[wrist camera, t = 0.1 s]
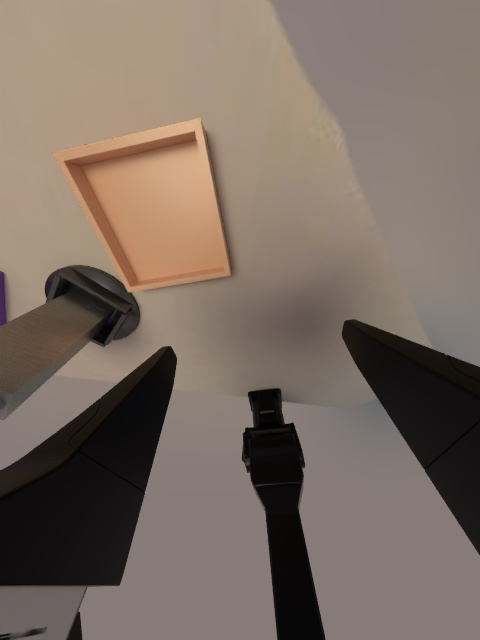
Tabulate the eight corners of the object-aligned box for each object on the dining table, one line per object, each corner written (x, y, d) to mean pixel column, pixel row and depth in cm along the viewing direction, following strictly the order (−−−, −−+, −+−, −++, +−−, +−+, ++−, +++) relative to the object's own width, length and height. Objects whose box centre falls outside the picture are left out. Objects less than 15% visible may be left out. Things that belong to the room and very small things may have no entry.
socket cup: (153, 302, 24) (145, 310, 22) (121, 348, 28) (112, 358, 26) (63, 244, 20) (44, 249, 18) (41, 308, 24) (24, 317, 22)
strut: (116, 306, 23) (-4, 407, 12) (104, 327, 25) (-11, 433, 13) (80, 285, 22) (-104, 378, 10) (70, 309, 23) (-97, 412, 12)
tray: (231, 269, 22) (230, 275, 20) (138, 284, 23) (128, 292, 20) (205, 130, 15) (200, 118, 13) (75, 159, 16) (51, 152, 14)
